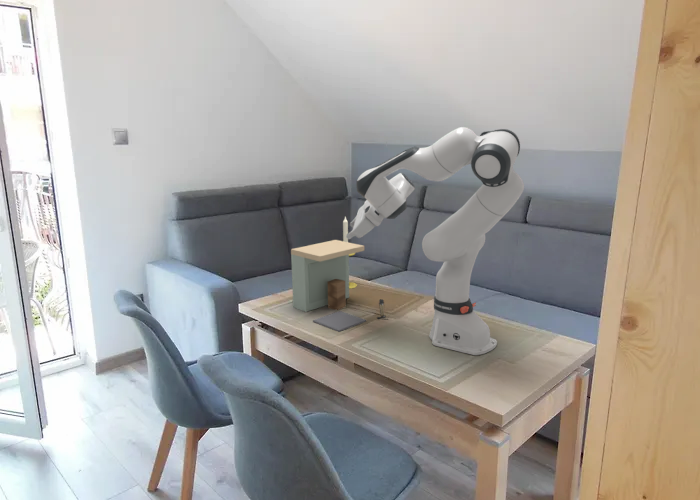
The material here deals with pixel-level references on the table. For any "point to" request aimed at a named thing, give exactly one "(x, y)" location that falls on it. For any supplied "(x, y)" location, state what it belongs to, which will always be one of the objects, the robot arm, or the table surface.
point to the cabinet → (319, 271)
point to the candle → (345, 239)
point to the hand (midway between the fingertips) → (349, 231)
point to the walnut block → (336, 294)
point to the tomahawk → (382, 310)
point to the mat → (339, 321)
